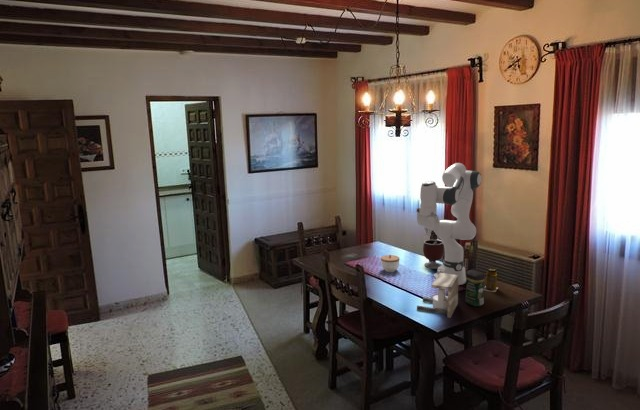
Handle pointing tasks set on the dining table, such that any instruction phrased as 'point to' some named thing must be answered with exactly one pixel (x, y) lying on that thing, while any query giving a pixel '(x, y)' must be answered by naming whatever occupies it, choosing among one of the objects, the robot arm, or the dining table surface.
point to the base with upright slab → (440, 300)
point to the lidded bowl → (390, 263)
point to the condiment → (491, 280)
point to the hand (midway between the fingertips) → (428, 235)
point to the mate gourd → (433, 252)
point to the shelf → (451, 285)
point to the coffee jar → (474, 288)
